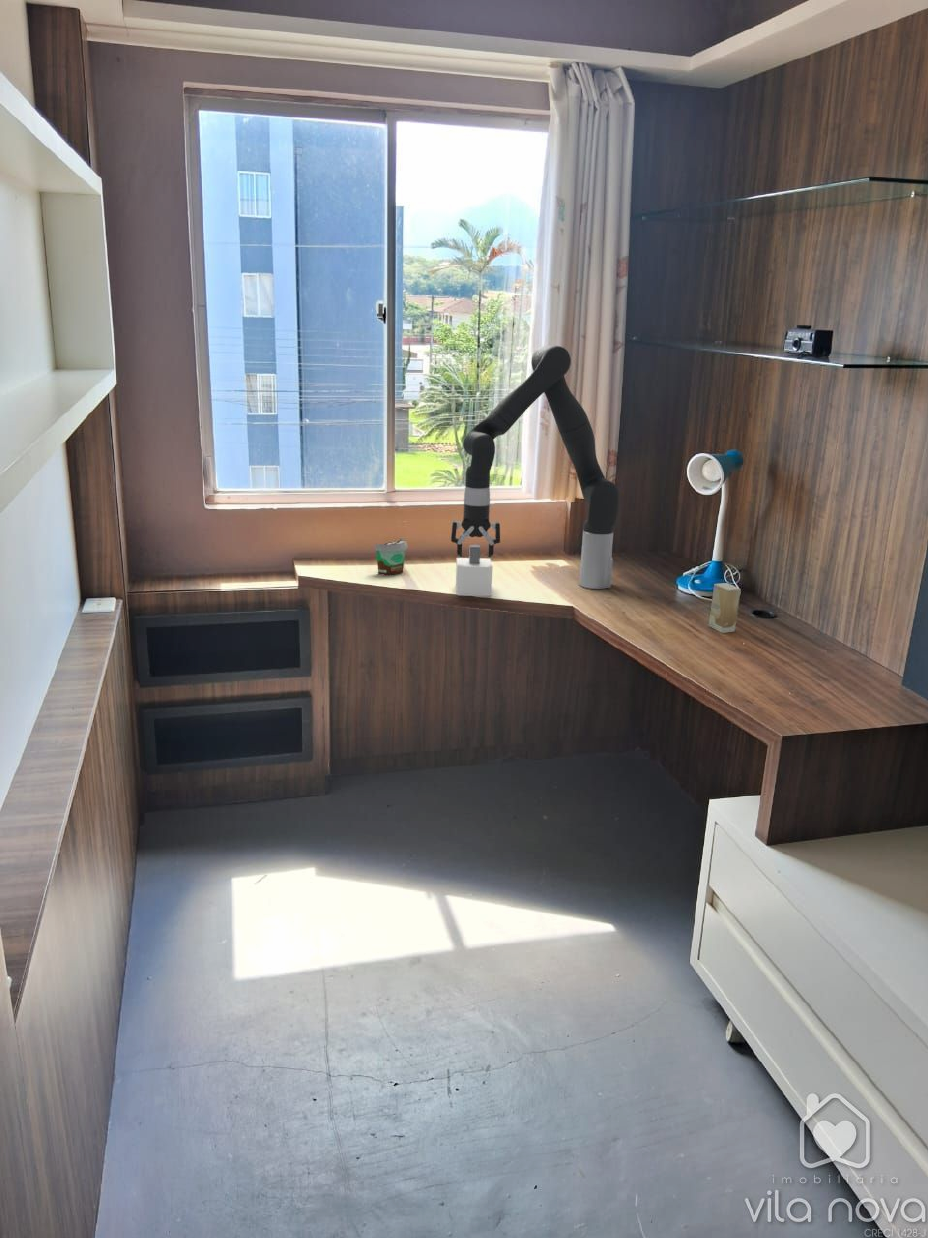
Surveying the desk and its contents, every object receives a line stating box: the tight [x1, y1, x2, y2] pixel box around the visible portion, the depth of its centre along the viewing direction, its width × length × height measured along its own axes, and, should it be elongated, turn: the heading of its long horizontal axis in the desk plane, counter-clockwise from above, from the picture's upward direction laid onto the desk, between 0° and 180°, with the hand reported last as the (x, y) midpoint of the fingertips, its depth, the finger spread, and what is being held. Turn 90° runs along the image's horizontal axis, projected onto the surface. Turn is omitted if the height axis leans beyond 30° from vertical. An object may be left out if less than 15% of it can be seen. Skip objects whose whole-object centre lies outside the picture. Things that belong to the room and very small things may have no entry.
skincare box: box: [708, 582, 742, 634], centre depth 255 cm, size 6×4×12 cm
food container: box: [374, 537, 408, 576], centre depth 299 cm, size 12×6×10 cm, turn 143°
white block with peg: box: [455, 544, 493, 597], centre depth 282 cm, size 10×10×14 cm
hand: (474, 556), depth 279 cm, fingers open, 8 cm apart
